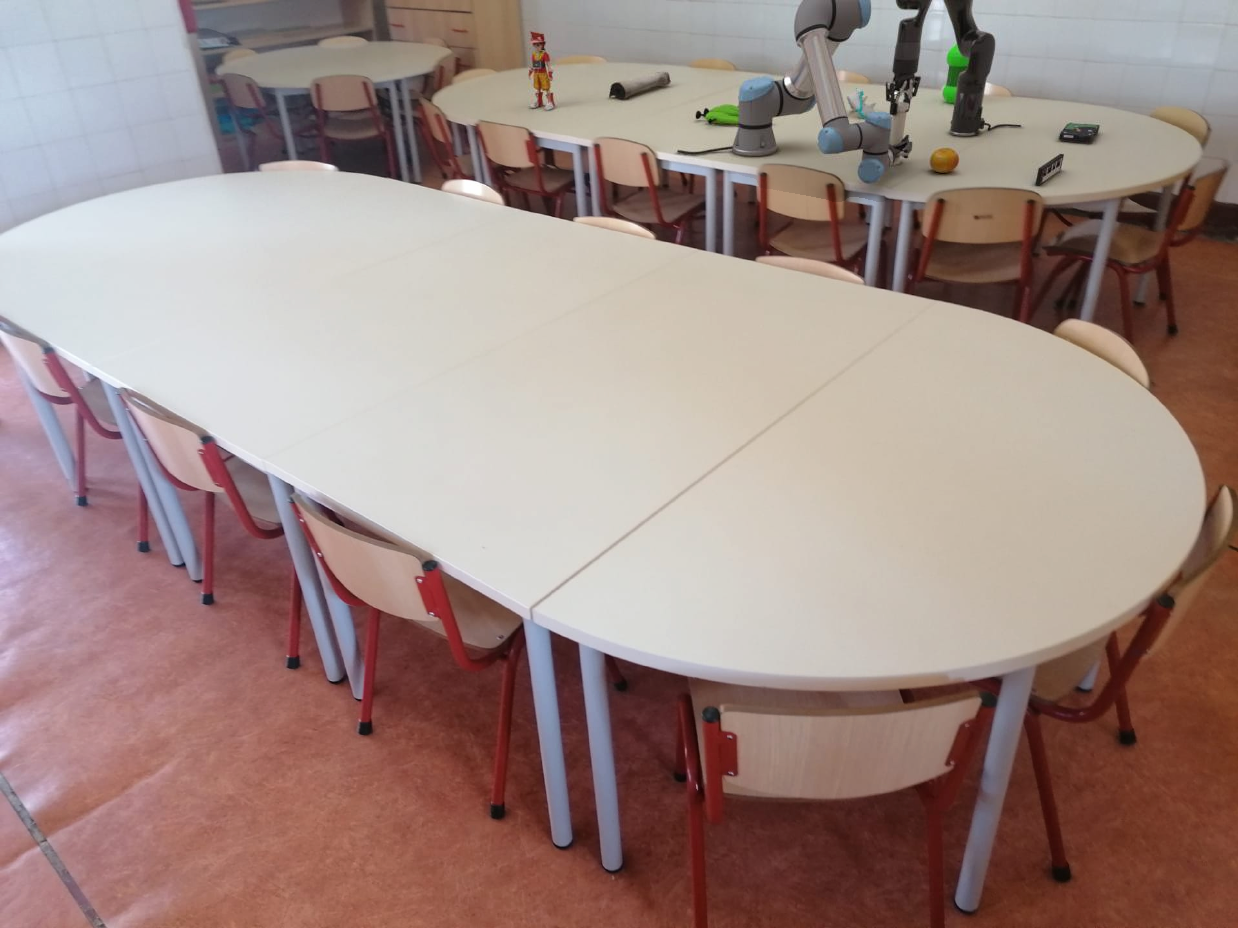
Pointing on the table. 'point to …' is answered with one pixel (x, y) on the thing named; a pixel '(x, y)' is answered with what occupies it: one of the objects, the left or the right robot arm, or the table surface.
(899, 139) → the beige plastic cylinder
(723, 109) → the toy
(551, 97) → the toy
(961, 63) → the plastic bottle
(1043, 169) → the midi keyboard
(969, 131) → the right robot arm
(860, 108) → the anatomical model
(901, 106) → the lid
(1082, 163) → the table surface
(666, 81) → the rolled mat
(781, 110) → the left robot arm
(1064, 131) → the disk drive
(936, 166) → the fruit
